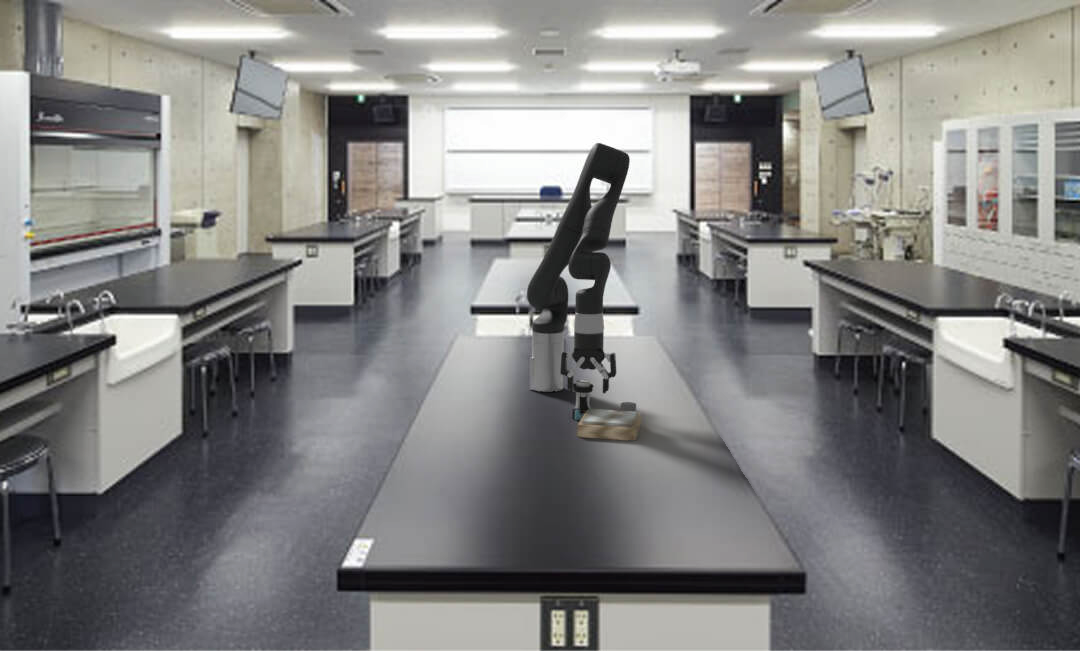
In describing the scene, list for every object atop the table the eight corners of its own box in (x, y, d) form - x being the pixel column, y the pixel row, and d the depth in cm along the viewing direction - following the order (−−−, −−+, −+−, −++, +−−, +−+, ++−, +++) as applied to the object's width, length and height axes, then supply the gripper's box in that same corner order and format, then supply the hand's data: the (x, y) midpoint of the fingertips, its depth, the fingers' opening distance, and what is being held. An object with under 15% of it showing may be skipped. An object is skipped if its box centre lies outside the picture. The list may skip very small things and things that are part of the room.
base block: (577, 436, 233) (577, 421, 232) (586, 421, 246) (586, 407, 246) (634, 440, 230) (635, 425, 229) (641, 425, 244) (641, 411, 243)
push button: (590, 414, 253) (591, 377, 252) (600, 419, 249) (601, 382, 247) (568, 417, 250) (569, 380, 249) (577, 422, 246) (578, 384, 244)
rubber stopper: (619, 420, 249) (619, 405, 248) (621, 416, 252) (621, 401, 252) (634, 421, 248) (635, 406, 247) (636, 417, 252) (637, 402, 251)
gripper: (559, 331, 243) (558, 394, 246) (615, 333, 241) (614, 396, 243) (563, 326, 251) (563, 387, 253) (618, 328, 248) (617, 390, 251)
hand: (588, 391), depth 248 cm, fingers open, 8 cm apart
